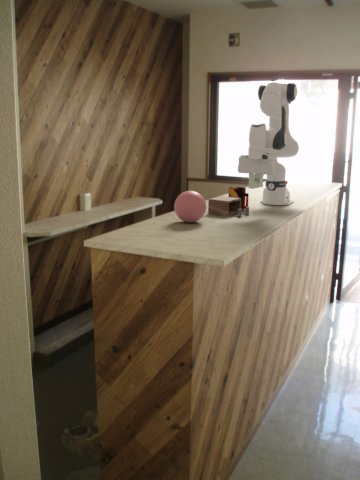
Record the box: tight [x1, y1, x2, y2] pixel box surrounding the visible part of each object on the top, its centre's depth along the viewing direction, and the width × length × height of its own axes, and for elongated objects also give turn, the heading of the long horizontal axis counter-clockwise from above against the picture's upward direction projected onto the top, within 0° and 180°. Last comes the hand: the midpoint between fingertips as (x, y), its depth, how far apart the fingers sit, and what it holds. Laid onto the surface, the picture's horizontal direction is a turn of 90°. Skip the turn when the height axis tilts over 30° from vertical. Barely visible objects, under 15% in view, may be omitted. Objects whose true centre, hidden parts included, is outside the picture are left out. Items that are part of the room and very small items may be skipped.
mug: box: [227, 186, 249, 211], centre depth 278 cm, size 10×14×12 cm
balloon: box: [173, 190, 207, 224], centre depth 238 cm, size 15×20×15 cm
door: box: [248, 174, 264, 190], centre depth 255 cm, size 12×3×7 cm, turn 146°
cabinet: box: [207, 196, 250, 218], centre depth 262 cm, size 14×18×8 cm
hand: (255, 182), depth 255 cm, fingers closed on door, 2 cm apart
